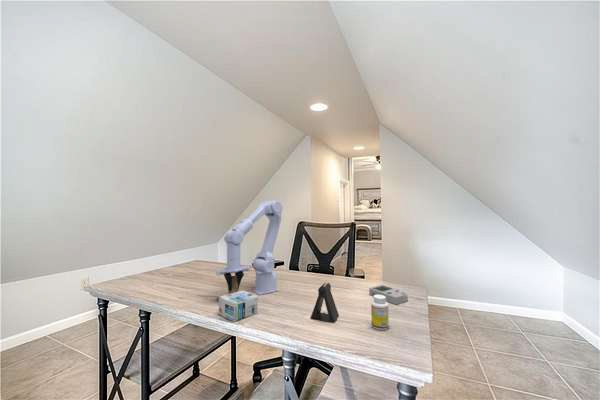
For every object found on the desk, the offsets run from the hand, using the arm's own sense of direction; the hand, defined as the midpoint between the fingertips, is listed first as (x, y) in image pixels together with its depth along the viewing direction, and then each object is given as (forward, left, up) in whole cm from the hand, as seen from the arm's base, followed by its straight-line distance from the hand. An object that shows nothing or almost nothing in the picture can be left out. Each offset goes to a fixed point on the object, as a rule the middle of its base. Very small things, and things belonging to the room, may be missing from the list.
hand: (233, 289), depth 115 cm
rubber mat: (0, 0, -5) cm, 5 cm away
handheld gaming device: (-59, +35, -5) cm, 68 cm away
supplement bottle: (-33, +52, -5) cm, 62 cm away
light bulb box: (-2, +14, -1) cm, 14 cm away
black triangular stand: (-22, +36, -5) cm, 43 cm away
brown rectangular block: (0, 0, -3) cm, 3 cm away
